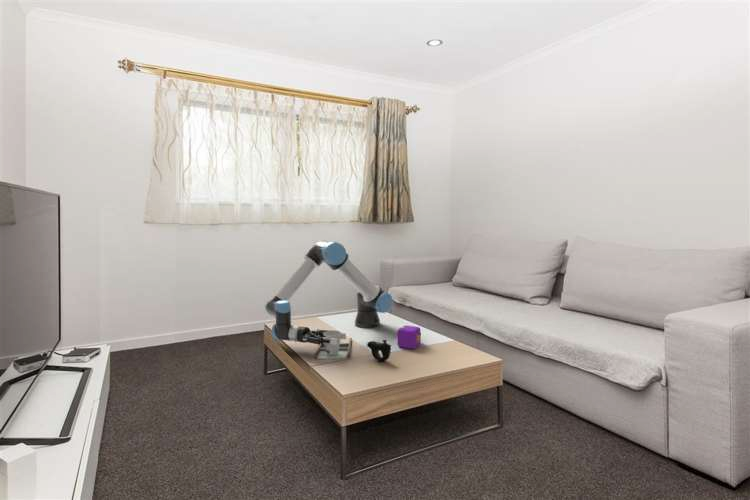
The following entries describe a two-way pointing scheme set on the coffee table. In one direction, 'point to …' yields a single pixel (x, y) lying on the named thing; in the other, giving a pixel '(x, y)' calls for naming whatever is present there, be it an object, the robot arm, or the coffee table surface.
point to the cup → (332, 348)
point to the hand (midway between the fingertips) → (341, 338)
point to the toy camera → (409, 337)
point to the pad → (325, 356)
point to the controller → (382, 347)
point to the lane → (347, 351)
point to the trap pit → (342, 347)
